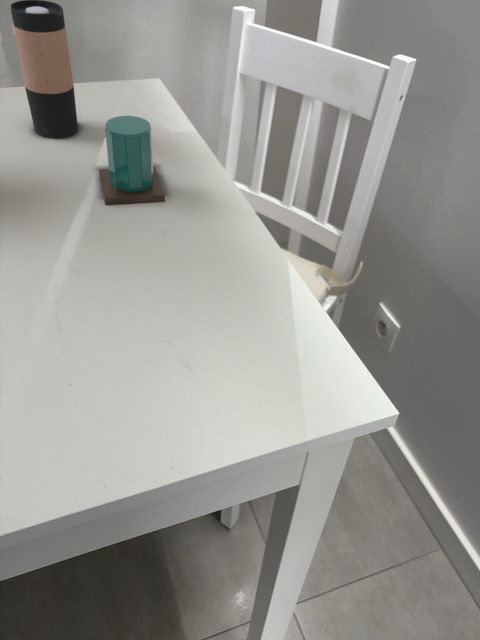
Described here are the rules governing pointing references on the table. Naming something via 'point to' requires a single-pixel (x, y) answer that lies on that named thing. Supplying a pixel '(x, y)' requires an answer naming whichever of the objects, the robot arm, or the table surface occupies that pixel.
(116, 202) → the cup stand
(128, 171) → the cup
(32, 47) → the travel mug
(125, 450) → the table surface
